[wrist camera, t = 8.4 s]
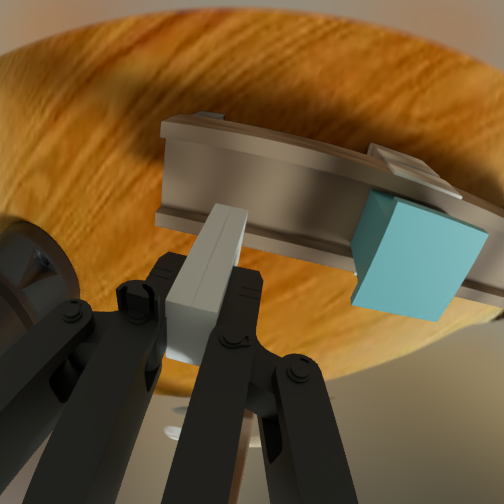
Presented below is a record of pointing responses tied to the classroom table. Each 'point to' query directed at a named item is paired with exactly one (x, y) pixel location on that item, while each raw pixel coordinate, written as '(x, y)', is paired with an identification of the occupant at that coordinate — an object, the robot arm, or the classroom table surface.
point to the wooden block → (241, 457)
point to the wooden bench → (308, 193)
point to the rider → (411, 257)
